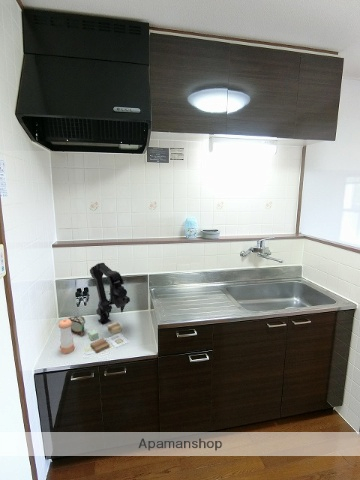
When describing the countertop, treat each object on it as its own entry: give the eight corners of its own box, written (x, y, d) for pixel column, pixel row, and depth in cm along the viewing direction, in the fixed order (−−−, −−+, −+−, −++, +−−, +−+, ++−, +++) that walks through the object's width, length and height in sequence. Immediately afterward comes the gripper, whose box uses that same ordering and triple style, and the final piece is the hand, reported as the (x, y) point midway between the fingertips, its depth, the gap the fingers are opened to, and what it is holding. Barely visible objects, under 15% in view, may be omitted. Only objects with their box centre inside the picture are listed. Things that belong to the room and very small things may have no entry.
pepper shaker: (70, 344, 149) (67, 314, 145) (76, 349, 145) (74, 319, 141) (58, 350, 144) (55, 319, 140) (64, 355, 139) (61, 324, 135)
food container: (90, 332, 162) (89, 317, 160) (83, 337, 156) (82, 322, 154) (76, 327, 167) (75, 313, 165) (68, 332, 162) (67, 318, 159)
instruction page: (106, 338, 155) (106, 338, 155) (119, 333, 161) (119, 332, 161) (115, 347, 146) (115, 347, 146) (129, 341, 152) (129, 341, 152)
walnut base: (90, 347, 148) (90, 343, 147) (103, 341, 153) (103, 338, 152) (96, 354, 142) (96, 350, 141) (109, 348, 147) (109, 344, 147)
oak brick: (108, 330, 165) (107, 325, 164) (117, 326, 169) (116, 322, 168) (112, 334, 160) (112, 329, 159) (121, 330, 164) (121, 326, 163)
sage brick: (88, 337, 156) (88, 332, 155) (95, 335, 159) (95, 329, 158) (91, 341, 153) (91, 335, 152) (98, 338, 156) (98, 332, 155)
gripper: (106, 301, 145) (107, 325, 149) (134, 292, 157) (134, 314, 161) (98, 294, 153) (99, 317, 157) (125, 286, 165) (125, 308, 169)
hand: (115, 314), depth 161 cm, fingers open, 9 cm apart
